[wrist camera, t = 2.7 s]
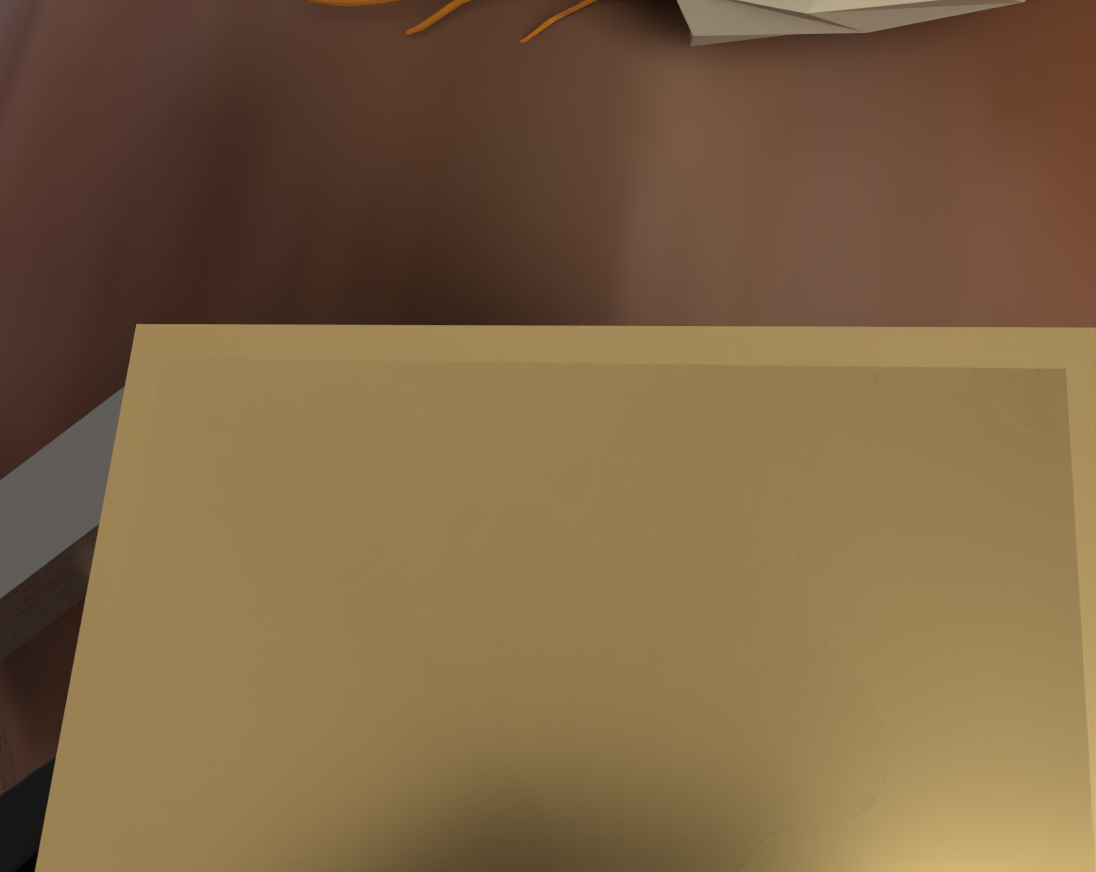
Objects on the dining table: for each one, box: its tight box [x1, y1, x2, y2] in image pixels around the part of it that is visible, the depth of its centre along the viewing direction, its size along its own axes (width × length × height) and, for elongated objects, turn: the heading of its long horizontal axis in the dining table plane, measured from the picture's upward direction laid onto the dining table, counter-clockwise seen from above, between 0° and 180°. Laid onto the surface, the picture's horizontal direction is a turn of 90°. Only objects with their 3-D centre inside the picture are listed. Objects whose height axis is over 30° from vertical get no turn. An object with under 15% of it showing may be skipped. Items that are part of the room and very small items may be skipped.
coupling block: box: [35, 324, 1096, 872], centre depth 10 cm, size 5×5×13 cm
